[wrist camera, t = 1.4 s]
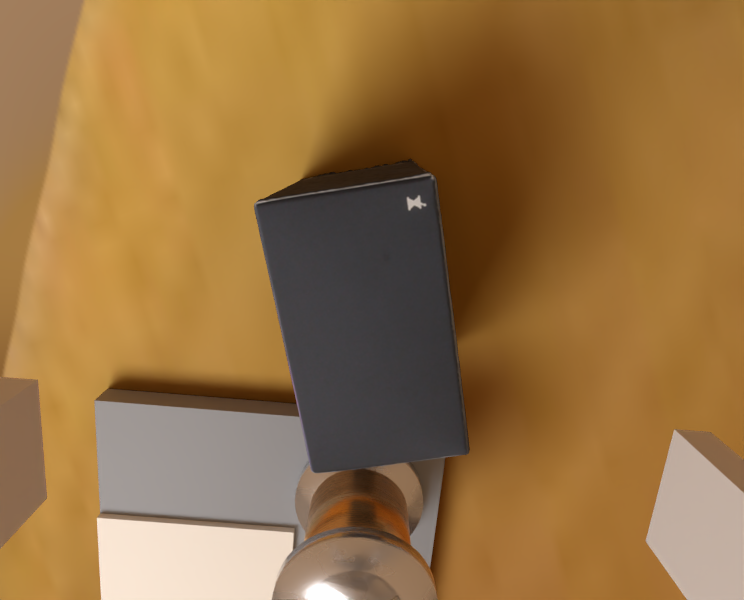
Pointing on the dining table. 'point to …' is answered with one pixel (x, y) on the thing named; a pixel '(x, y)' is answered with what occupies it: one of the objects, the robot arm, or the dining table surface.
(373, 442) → the small box
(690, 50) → the dining table surface
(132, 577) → the board
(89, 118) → the dining table surface
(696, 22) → the dining table surface
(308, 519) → the bobbin
